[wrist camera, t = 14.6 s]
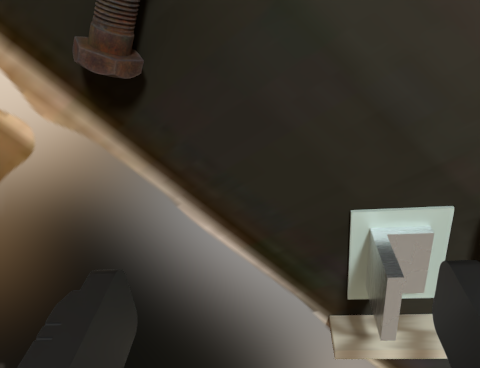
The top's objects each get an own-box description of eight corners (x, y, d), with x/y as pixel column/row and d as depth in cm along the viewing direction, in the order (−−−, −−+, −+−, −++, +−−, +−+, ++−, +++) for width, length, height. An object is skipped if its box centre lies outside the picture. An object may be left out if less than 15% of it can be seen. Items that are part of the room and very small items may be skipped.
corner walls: (329, 323, 50) (334, 358, 46) (331, 194, 41) (338, 222, 37) (479, 321, 48) (500, 358, 44) (515, 185, 39) (545, 214, 35)
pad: (347, 296, 48) (347, 299, 47) (350, 210, 42) (351, 212, 42) (436, 295, 47) (438, 297, 46) (453, 206, 41) (454, 208, 41)
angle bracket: (370, 228, 42) (387, 277, 36) (430, 226, 42) (459, 276, 35) (365, 286, 46) (380, 340, 40) (420, 285, 46) (445, 340, 39)
